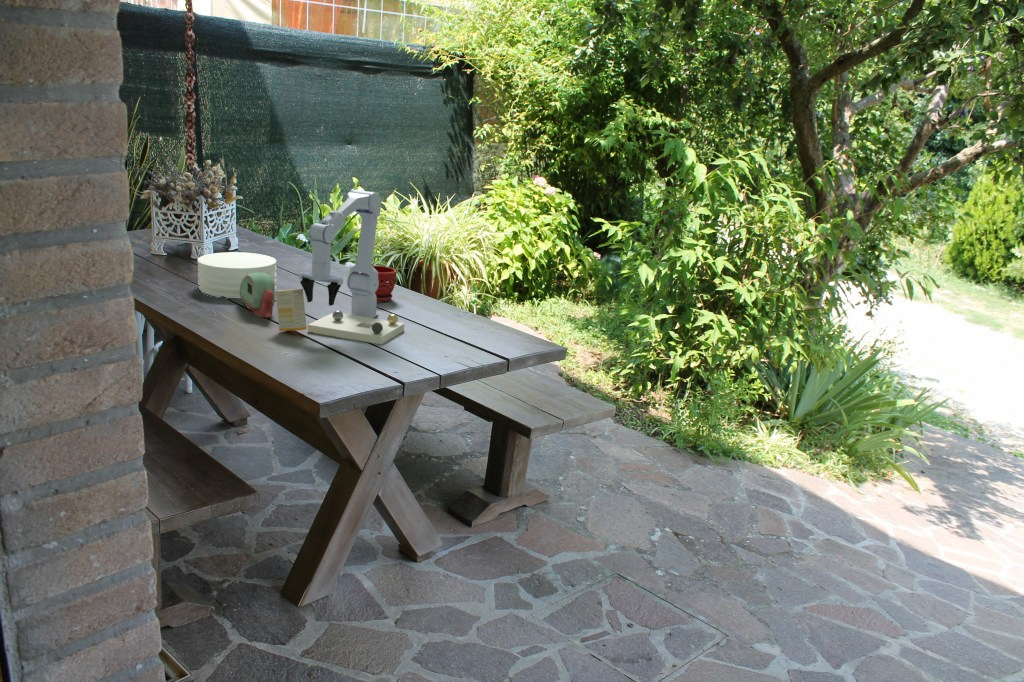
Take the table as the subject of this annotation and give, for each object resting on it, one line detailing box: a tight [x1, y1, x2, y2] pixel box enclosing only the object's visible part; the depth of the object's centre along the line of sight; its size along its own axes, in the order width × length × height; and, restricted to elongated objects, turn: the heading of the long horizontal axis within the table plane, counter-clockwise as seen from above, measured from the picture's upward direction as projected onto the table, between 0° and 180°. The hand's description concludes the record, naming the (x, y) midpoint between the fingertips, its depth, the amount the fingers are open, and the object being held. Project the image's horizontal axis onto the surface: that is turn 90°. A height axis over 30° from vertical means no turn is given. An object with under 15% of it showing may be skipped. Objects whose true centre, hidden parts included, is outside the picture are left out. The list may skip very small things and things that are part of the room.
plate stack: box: [197, 251, 277, 297], centre depth 321 cm, size 28×28×12 cm
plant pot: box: [362, 265, 397, 303], centre depth 324 cm, size 13×13×12 cm
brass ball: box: [386, 313, 399, 324], centre depth 285 cm, size 4×4×4 cm
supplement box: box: [275, 288, 308, 332], centre depth 275 cm, size 8×5×13 cm, turn 56°
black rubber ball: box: [372, 322, 383, 333], centre depth 274 cm, size 4×4×4 cm
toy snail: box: [240, 272, 276, 319], centre depth 295 cm, size 25×8×14 cm, turn 33°
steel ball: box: [332, 310, 344, 321], centre depth 284 cm, size 4×4×4 cm
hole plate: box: [307, 311, 405, 345], centre depth 283 cm, size 18×26×2 cm
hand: (320, 303), depth 275 cm, fingers open, 7 cm apart
